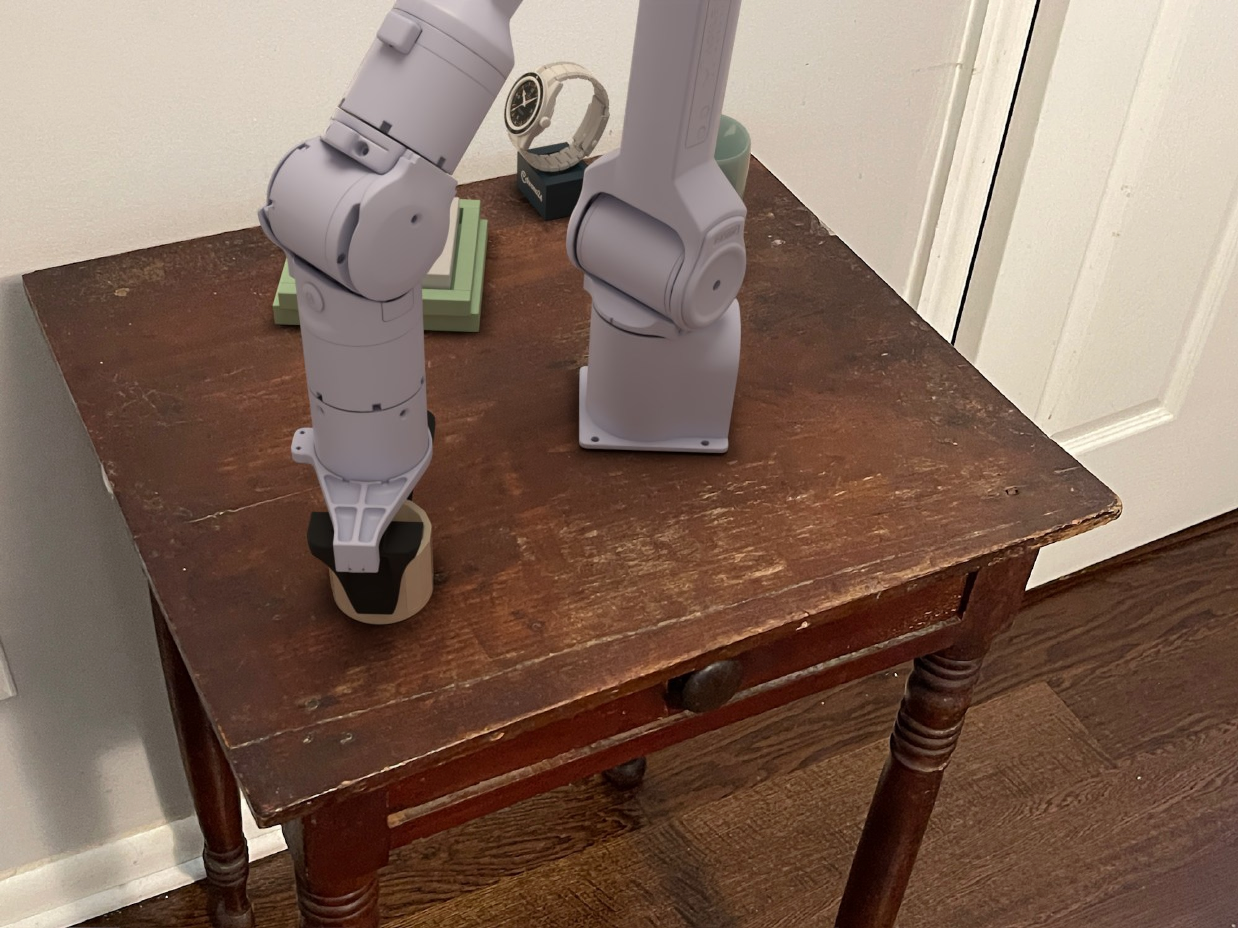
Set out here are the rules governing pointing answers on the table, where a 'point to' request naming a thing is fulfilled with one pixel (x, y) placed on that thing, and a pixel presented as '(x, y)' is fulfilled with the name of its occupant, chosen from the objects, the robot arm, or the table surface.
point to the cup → (733, 153)
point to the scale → (439, 306)
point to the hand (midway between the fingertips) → (381, 566)
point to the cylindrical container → (414, 578)
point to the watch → (560, 167)
